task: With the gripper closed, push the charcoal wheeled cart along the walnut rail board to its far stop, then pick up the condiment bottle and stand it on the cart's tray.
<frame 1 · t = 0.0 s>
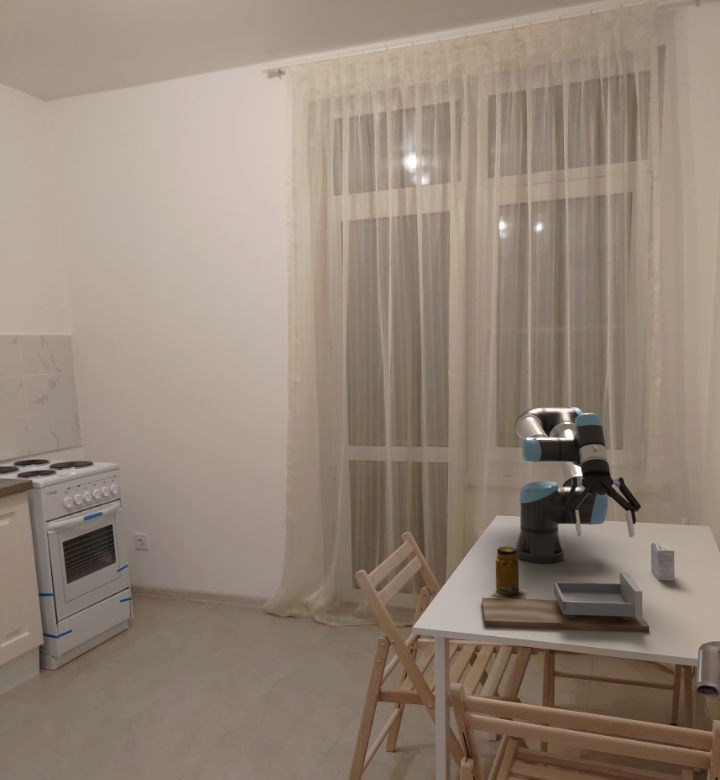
hand: (605, 535, 168), 15 cm above the table, tool tilted 35°, fingers open, 13 cm apart
rail board: (560, 617, 153), on the table
medicine box: (662, 576, 179), on the table
condiment: (510, 593, 170), on the table
cart: (595, 595, 152), point 6 cm above the table, slide at 17.0 cm
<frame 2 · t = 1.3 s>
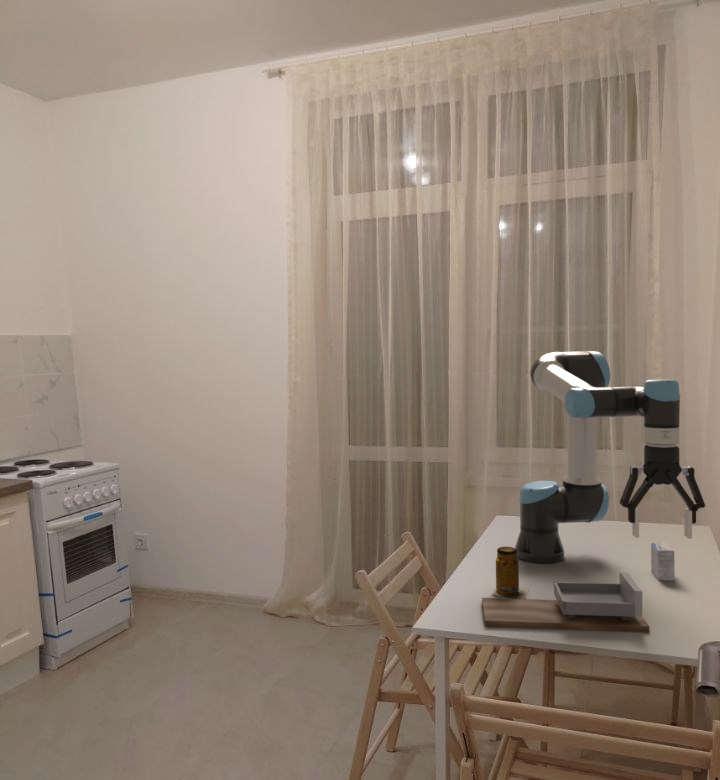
hand: (661, 536, 149), 20 cm above the table, tool pointing down, fingers open, 11 cm apart
nothing on the table moved.
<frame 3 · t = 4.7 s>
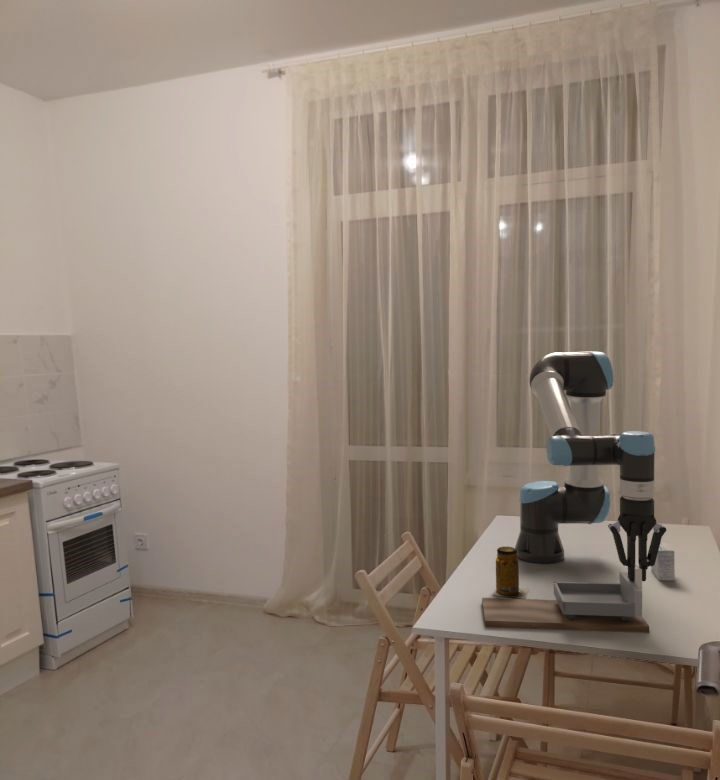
hand: (636, 593, 150), 6 cm above the table, tool pointing down, fingers closed
cart: (595, 595, 152), point 6 cm above the table, slide at 17.0 cm, touching gripper
everything else where it was.
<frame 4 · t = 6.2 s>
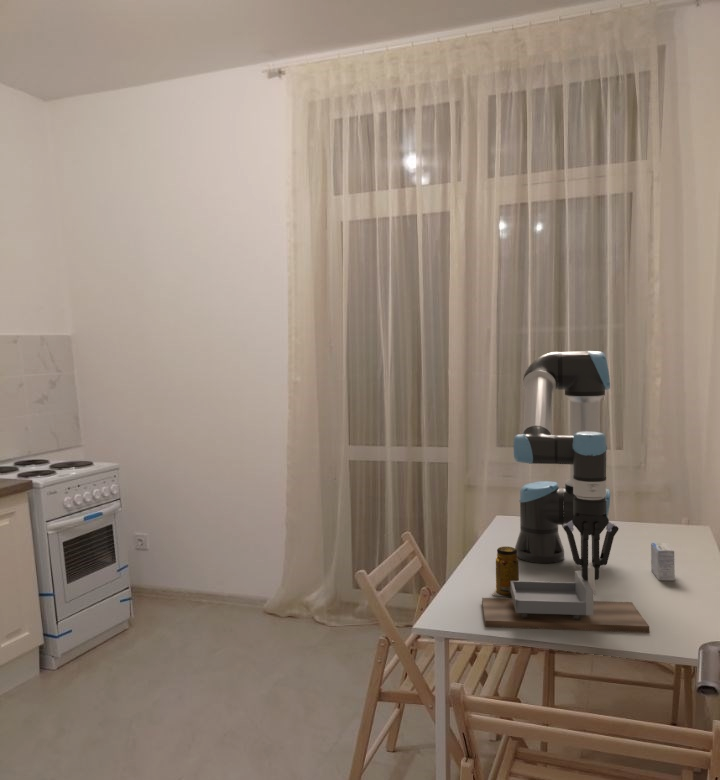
hand: (590, 592, 152), 6 cm above the table, tool pointing down, fingers closed
cart: (549, 594, 153), point 6 cm above the table, slide at 6.2 cm, touching gripper
everything else where it was.
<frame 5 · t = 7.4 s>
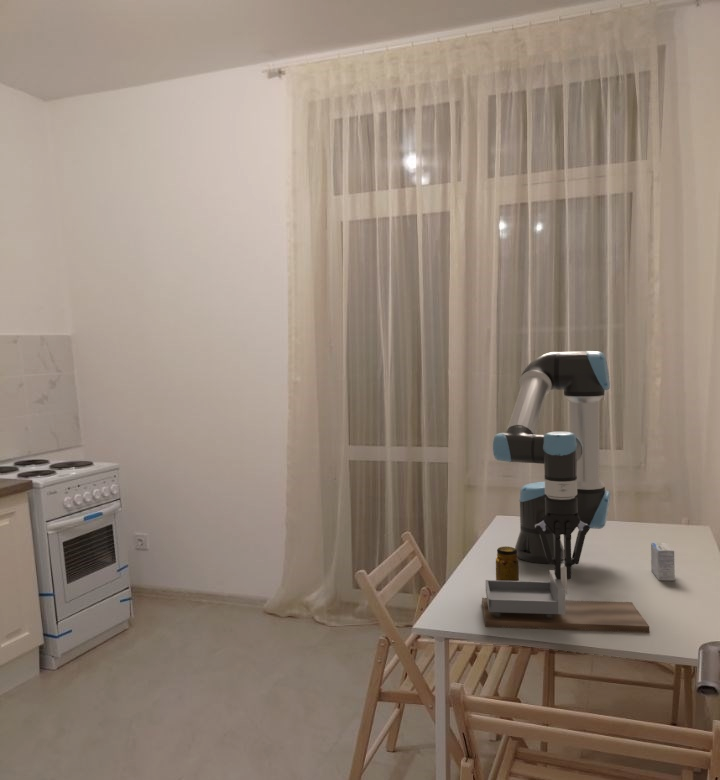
hand: (563, 591, 153), 6 cm above the table, tool pointing down, fingers closed
cart: (523, 593, 154), point 6 cm above the table, slide at -0.1 cm, touching gripper
everything else where it was.
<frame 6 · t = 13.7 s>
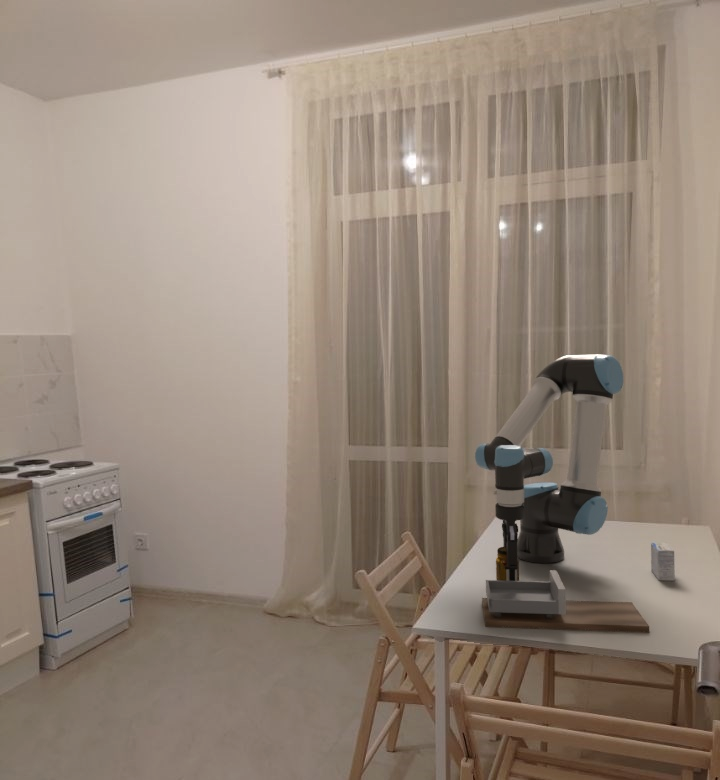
hand: (510, 587, 170), 1 cm above the table, tool pointing down, fingers closed on condiment, 6 cm apart
condiment: (511, 593, 169), on the table, touching gripper
cart: (523, 593, 154), point 6 cm above the table, slide at 0.0 cm
everything else where it was.
when the fingers open (7 cm above the table, at t = 18.6 s): condiment drops 1 cm, resting on cart.
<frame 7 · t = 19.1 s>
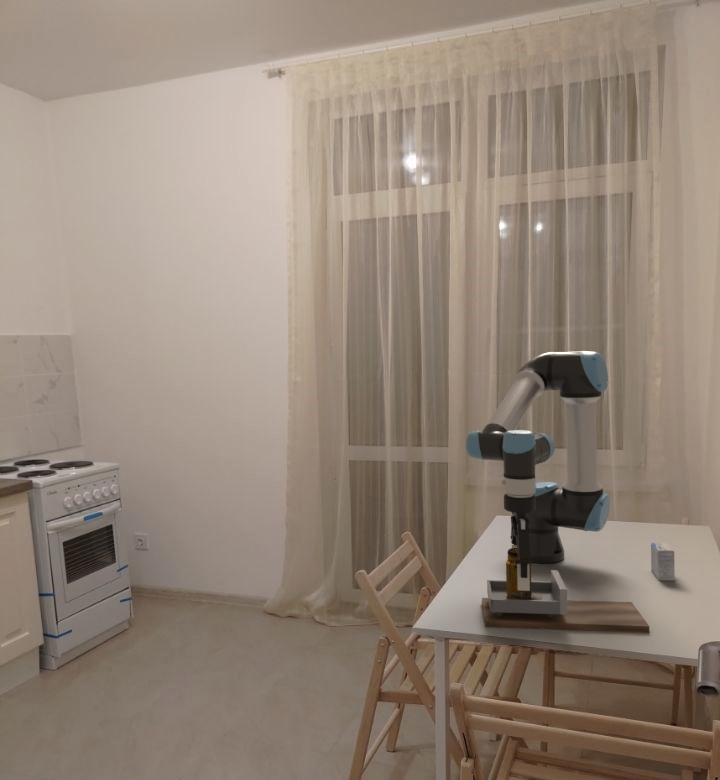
hand: (520, 580, 154), 9 cm above the table, tool pointing down, fingers open, 13 cm apart
condiment: (522, 599, 154), point 4 cm above the table, touching cart
cart: (525, 593, 154), point 6 cm above the table, slide at 0.3 cm, touching condiment
everything else where it was.
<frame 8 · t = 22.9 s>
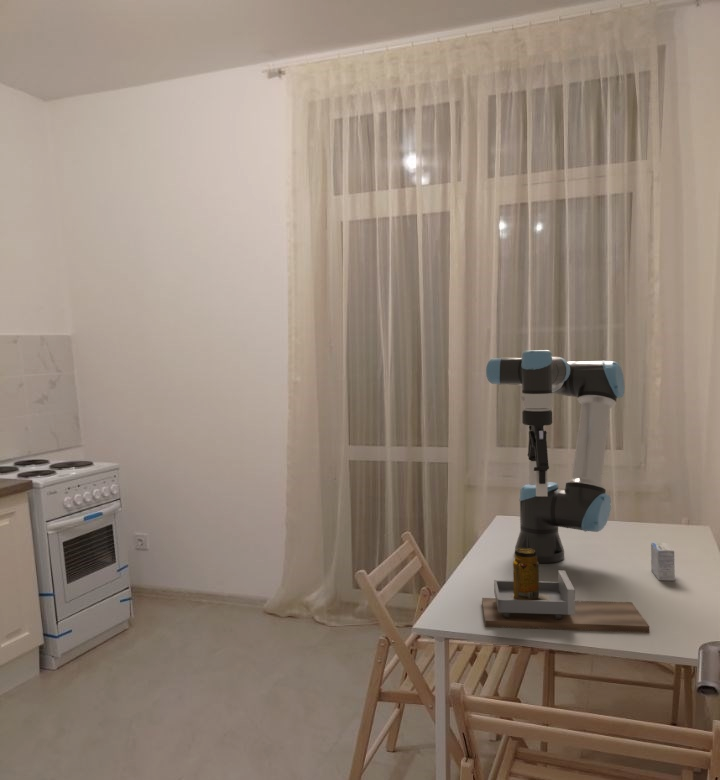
hand: (537, 490, 164), 29 cm above the table, tool pointing down, fingers open, 13 cm apart
condiment: (529, 600, 154), point 4 cm above the table, touching cart
cart: (532, 593, 154), point 6 cm above the table, slide at 2.1 cm, touching condiment
everything else where it was.
at the end: cart slide at 2.2 cm; condiment inside the target area (1.8 cm from its centre), point 4.2 cm above the table; condiment tilted 0° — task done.
